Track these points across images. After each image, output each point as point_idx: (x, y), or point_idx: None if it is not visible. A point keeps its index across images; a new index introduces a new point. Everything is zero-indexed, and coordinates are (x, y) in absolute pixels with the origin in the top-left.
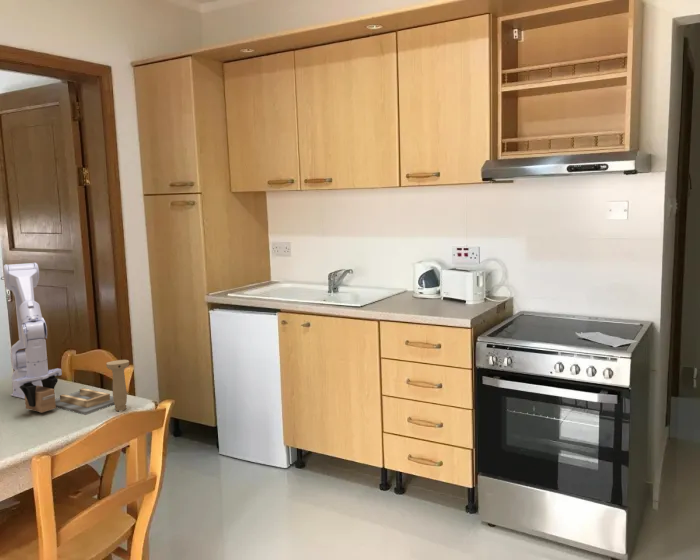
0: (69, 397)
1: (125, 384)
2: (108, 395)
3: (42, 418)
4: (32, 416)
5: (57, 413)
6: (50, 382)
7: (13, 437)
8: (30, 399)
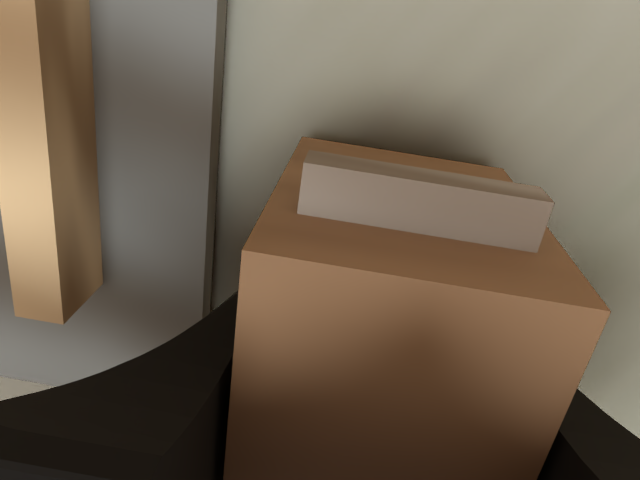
0: (46, 124)
1: None
2: None
3: (587, 65)
4: None
5: (371, 30)
6: (176, 469)
7: None
8: None
